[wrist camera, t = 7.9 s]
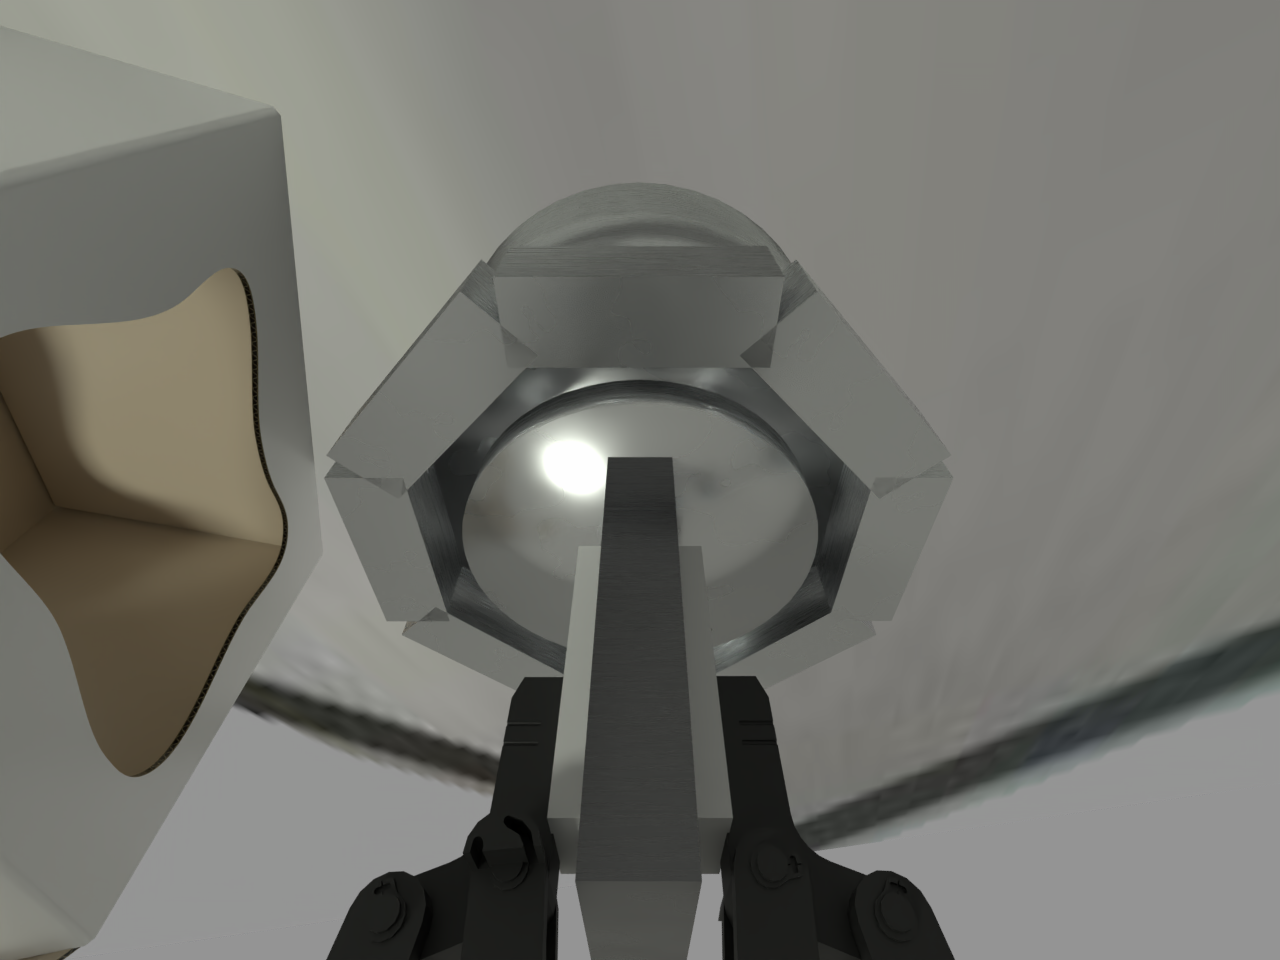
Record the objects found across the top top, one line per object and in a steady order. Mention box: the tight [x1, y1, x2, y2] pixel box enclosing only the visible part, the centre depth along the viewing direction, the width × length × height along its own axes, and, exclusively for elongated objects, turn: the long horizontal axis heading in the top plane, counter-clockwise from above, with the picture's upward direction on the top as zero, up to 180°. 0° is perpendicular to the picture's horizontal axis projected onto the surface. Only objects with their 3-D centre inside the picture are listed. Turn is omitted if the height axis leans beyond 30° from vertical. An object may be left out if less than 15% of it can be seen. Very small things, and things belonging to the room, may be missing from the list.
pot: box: [324, 182, 954, 690], centre depth 22 cm, size 16×22×11 cm
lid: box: [462, 380, 818, 960], centre depth 13 cm, size 10×10×10 cm
